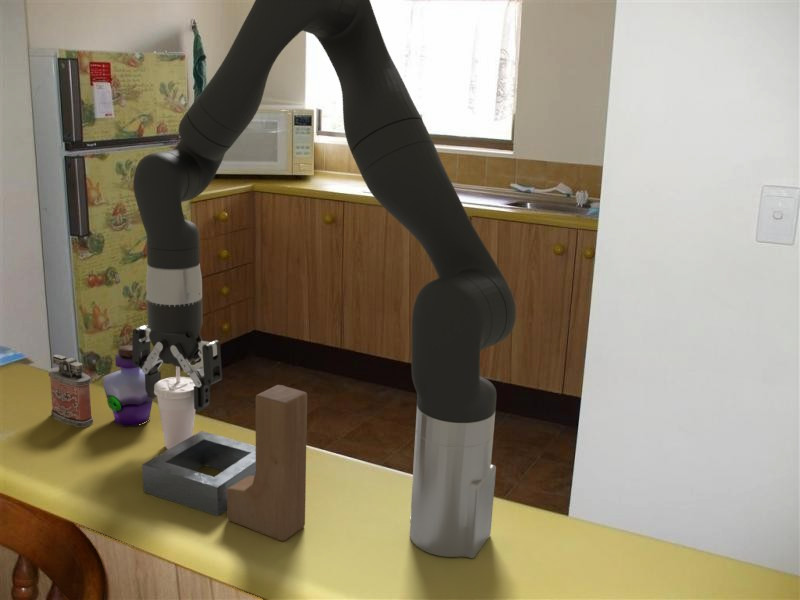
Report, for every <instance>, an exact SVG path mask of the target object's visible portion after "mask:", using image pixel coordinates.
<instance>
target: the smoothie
mask: <svg viewBox="0 0 800 600" xmlns="http://www.w3.org/2000/svg"><path fill="white" fill-rule="evenodd" d="M194 386H195V384H194V382H193V381H192V379H191V377H187V376H181V367H178V366H175V376H173V377H172V376H170V377H167V378H163V379H162V378H161V380H160V381H158V382H157V383H156V384H155V385H154V393H155V395H156V396H157V397H156V398H157V405H158V409H159V415H160V416H159V417H160V421H161V429H162V433H163V439H164V446H165V448H166V450H169V449H170V448H172V447H174V446H176V445H177V444H179V443H181V442H183V441H184V440H186V439H188V438H189V437H191V436H193V435H194V429H195V428H194V427H195V426H194V425H195V417H196V410H195V409H194Z"/></svg>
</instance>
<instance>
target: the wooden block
mask: <svg viewBox="0 0 800 600" xmlns="http://www.w3.org/2000/svg"><path fill="white" fill-rule="evenodd" d="M307 419H308V393H307V392H306V391H303V390H300V389H295V388H293V387H289V386H285V385H281V384H276V385H274V386H272V387H271V388H268V389H266V390H264V391H262V392H260V393H258V394H256V396H255V446H256V472H255V476H248V477H246V478H244V479H243V480H241V481H239V482H238V483H236V484H234V485H233V486H231V487H229V488H228V489H227V510H226V516H227V520H228V521H229V522H231V523H235V524H238V525H240V526H242V527H245V528H247V529H250V530H253V531H254V532H257V533H260V534H263V535H264V536H268V537H270V538H273V539H275V540H278V541H280V542H286V541H287V540H288V539H291V537H292V536H293V535H295V534H296V533H298V532H299V531H300V530H302V529H303V528H304V527H305V525H306V492H307V491H306V488H307V487H306V484H307V483H306V482H307V481H306V479H307V477H306V475H307V435H308V434H307V429H308V428H307V427H308V426H307V422H308V420H307Z"/></svg>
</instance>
